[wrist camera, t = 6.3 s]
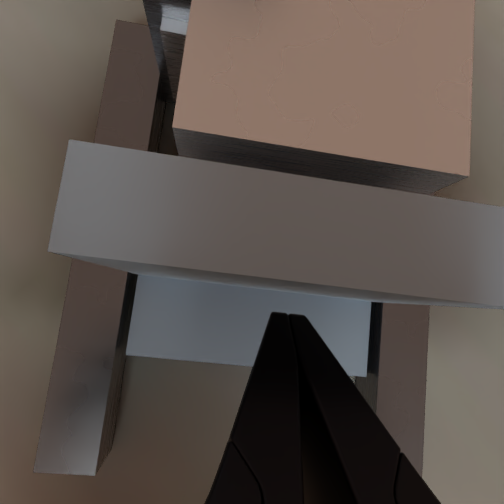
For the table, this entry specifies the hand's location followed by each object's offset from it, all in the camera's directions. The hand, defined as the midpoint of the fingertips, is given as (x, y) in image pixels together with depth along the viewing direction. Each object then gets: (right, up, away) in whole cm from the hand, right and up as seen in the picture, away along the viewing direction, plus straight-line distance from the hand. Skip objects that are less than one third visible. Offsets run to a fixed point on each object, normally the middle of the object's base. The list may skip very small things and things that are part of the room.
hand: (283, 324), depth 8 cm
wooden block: (0, +5, +8) cm, 9 cm away
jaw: (-1, 0, +7) cm, 7 cm away
